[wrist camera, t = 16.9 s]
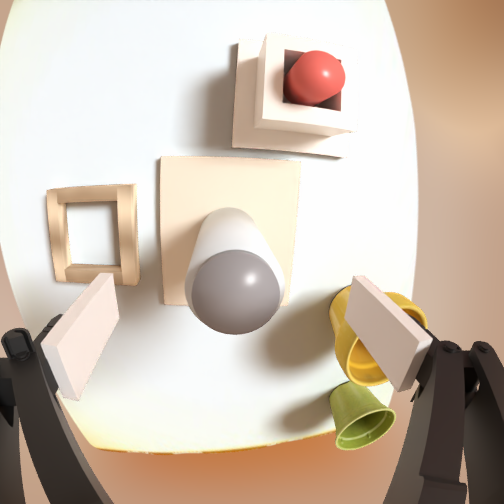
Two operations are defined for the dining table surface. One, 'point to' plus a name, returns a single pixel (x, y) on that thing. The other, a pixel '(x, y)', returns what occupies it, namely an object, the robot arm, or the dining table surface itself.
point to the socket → (126, 225)
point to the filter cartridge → (233, 274)
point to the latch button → (313, 79)
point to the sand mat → (219, 196)
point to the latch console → (284, 112)
